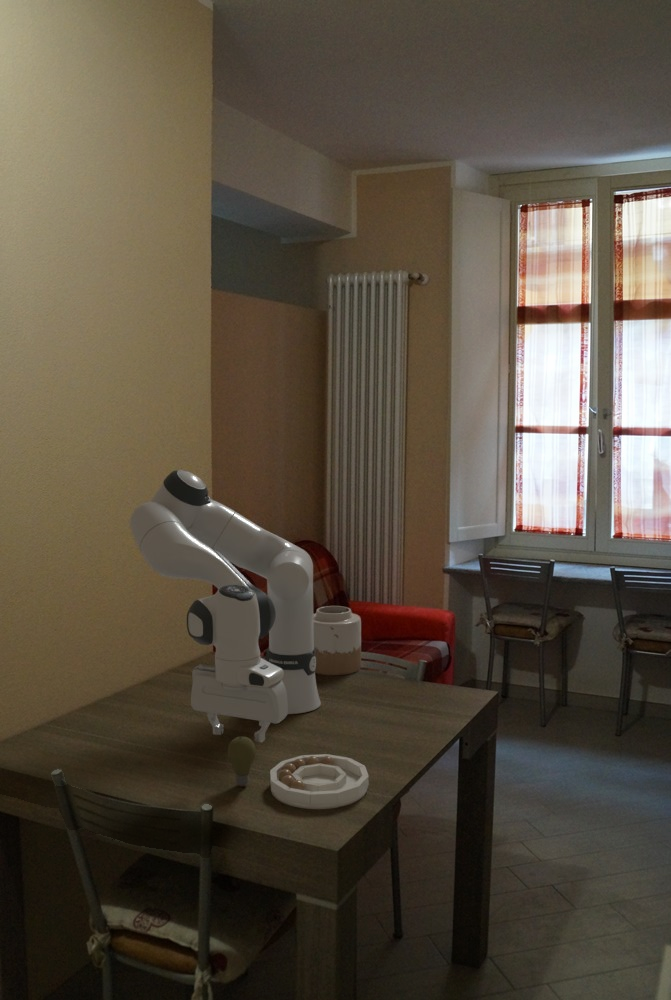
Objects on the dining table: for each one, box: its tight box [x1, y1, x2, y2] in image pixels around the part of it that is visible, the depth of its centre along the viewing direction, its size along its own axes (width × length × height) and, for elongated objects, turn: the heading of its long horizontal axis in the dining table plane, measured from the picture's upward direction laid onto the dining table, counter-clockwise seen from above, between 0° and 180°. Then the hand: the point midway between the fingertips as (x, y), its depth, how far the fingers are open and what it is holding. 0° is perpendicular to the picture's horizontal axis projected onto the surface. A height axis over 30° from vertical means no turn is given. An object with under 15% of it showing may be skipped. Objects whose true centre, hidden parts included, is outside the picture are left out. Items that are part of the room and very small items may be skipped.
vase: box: [313, 605, 362, 676], centre depth 264 cm, size 15×15×17 cm
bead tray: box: [269, 753, 370, 810], centre depth 185 cm, size 19×19×4 cm
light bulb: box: [227, 736, 257, 787], centre depth 186 cm, size 6×6×10 cm
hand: (238, 737), depth 185 cm, fingers open, 8 cm apart
